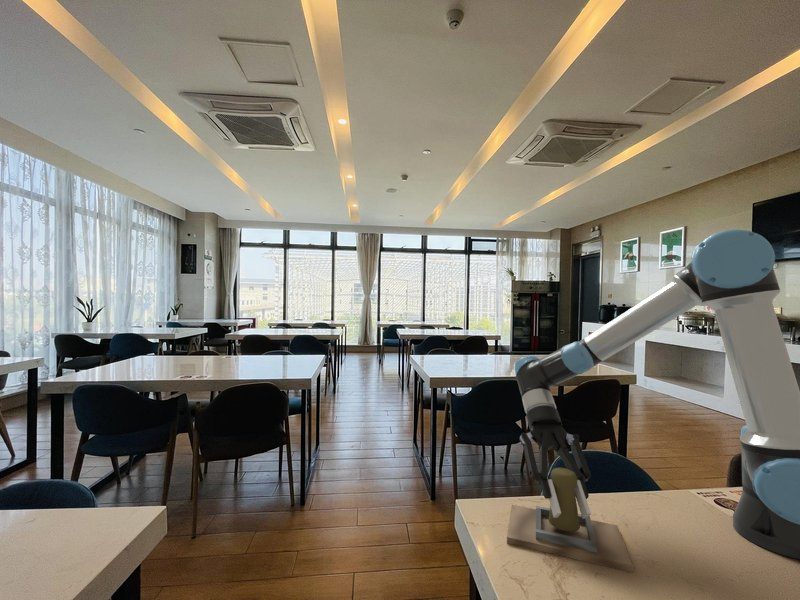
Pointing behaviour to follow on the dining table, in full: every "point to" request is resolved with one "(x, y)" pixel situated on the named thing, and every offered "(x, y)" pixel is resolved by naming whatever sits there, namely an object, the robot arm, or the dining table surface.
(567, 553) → the condiment stand
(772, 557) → the dining table surface
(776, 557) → the dining table surface
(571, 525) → the olive pawn shaped shaker
